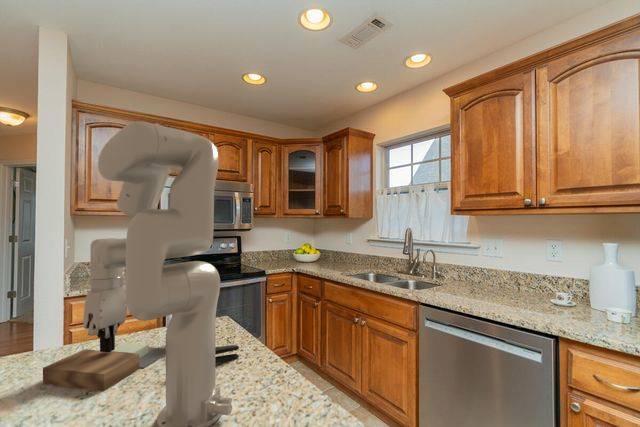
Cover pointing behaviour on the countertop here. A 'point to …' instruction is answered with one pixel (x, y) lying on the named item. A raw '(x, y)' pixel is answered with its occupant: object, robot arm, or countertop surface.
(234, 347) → the can opener
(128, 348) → the pale green flat block
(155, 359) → the mat
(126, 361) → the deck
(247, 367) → the countertop surface
